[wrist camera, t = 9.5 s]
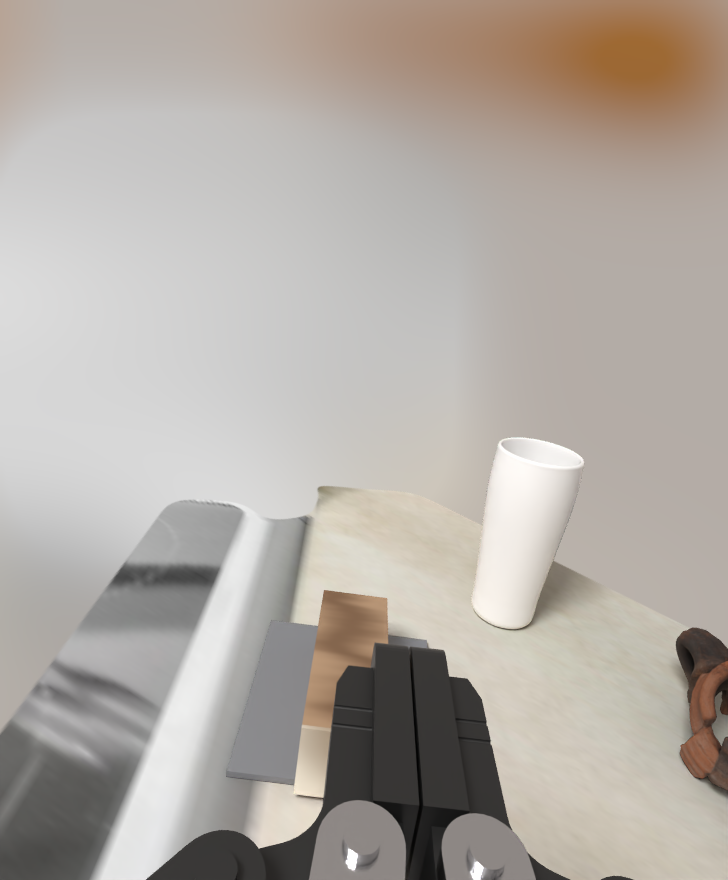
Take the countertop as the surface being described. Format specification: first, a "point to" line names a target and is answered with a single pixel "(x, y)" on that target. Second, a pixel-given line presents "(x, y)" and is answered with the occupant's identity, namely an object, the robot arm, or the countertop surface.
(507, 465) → the drinking glass
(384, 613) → the plain brown block
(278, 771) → the mat
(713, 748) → the brown jagged ring
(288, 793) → the countertop surface
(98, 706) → the countertop surface
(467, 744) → the robot arm
